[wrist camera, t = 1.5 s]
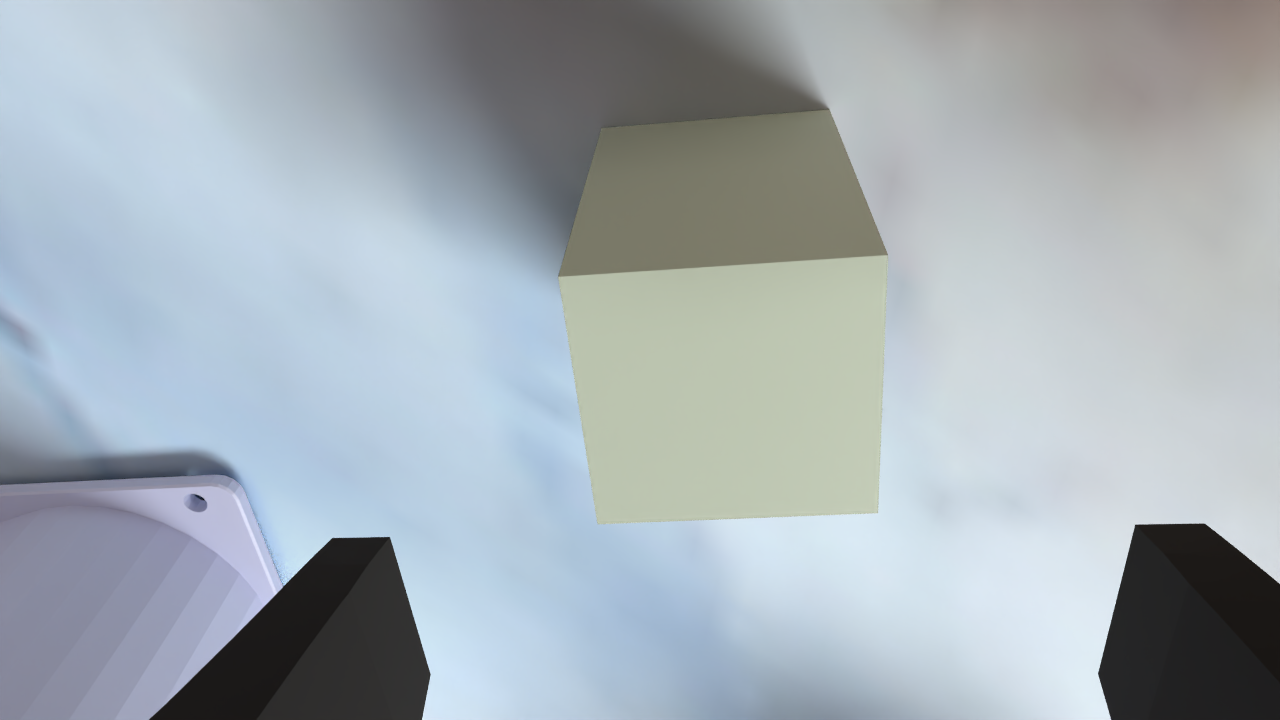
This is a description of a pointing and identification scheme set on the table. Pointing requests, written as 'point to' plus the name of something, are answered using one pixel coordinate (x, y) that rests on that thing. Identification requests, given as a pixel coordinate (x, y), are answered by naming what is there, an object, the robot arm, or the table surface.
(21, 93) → the table surface
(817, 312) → the block
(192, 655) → the robot arm
